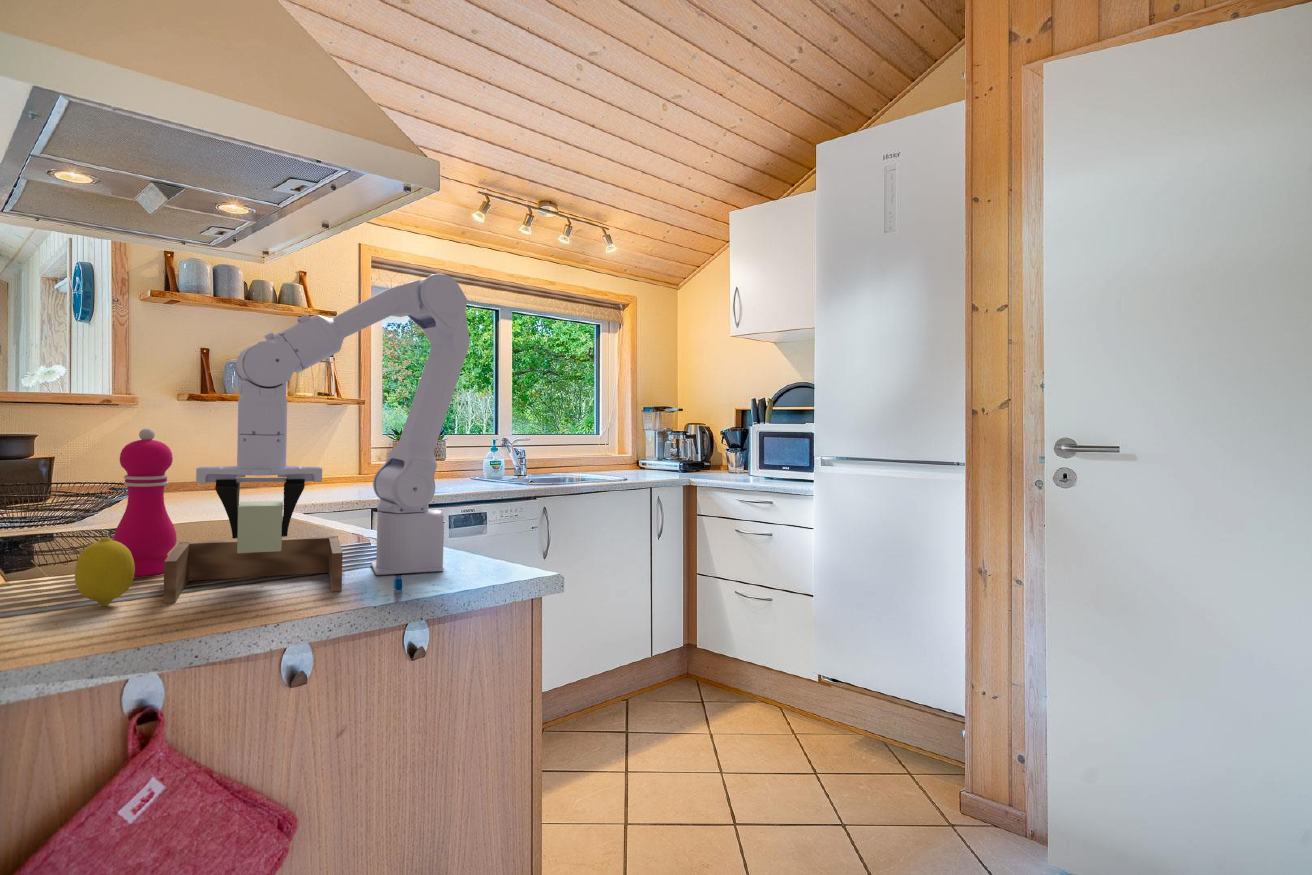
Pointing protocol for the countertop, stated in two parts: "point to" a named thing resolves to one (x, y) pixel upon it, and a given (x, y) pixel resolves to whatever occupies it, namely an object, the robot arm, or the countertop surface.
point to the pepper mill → (146, 504)
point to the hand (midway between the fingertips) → (260, 536)
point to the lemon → (104, 571)
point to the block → (259, 526)
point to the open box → (250, 562)
